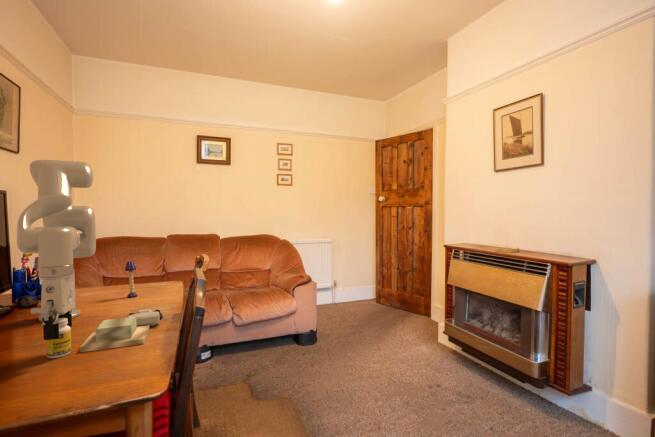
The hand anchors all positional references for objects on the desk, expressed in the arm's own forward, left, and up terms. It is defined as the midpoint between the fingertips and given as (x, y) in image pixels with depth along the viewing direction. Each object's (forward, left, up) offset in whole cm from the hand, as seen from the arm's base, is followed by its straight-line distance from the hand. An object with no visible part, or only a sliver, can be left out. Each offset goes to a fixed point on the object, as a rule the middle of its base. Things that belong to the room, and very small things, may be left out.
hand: (58, 333), depth 94 cm
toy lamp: (+7, +66, -6) cm, 67 cm away
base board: (+13, +6, -6) cm, 16 cm away
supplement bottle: (0, 0, -6) cm, 6 cm away
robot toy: (+18, +21, -7) cm, 29 cm away
